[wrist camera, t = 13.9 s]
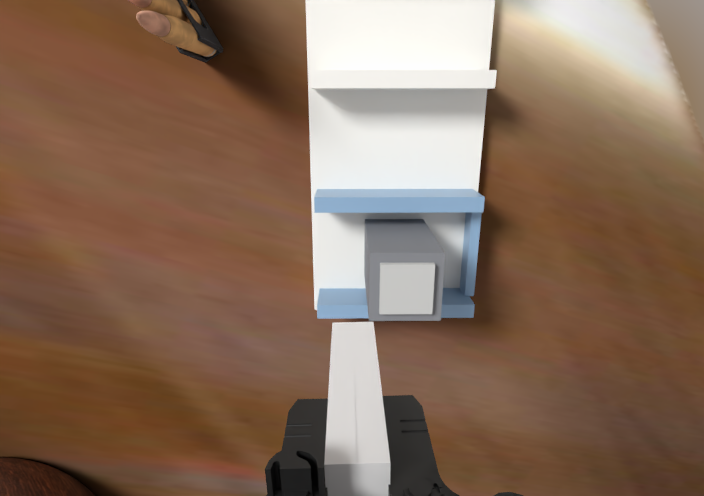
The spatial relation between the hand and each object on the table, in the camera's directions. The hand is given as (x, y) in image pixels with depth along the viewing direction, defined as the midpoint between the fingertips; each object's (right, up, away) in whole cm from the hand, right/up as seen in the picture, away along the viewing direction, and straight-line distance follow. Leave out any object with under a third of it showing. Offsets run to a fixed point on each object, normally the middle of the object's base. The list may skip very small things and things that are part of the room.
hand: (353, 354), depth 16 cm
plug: (+3, +4, +22) cm, 23 cm away
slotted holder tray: (+4, +13, +20) cm, 24 cm away
